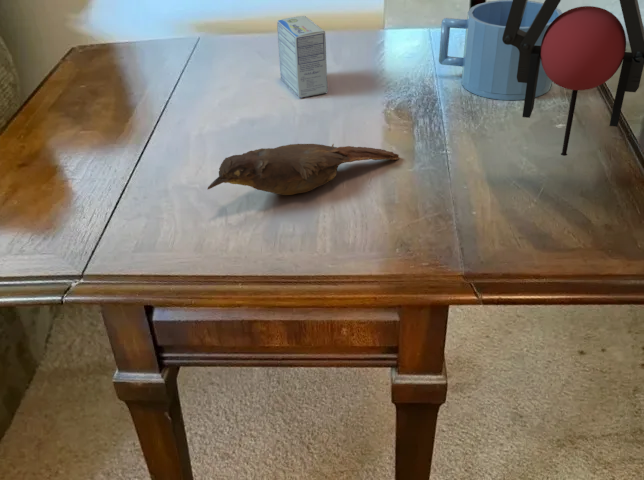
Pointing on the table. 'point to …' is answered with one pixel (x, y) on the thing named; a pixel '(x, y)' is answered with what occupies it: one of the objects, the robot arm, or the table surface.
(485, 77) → the mug
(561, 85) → the lollipop
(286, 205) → the table surface
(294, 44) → the medicine box
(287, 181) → the bird sculpture
